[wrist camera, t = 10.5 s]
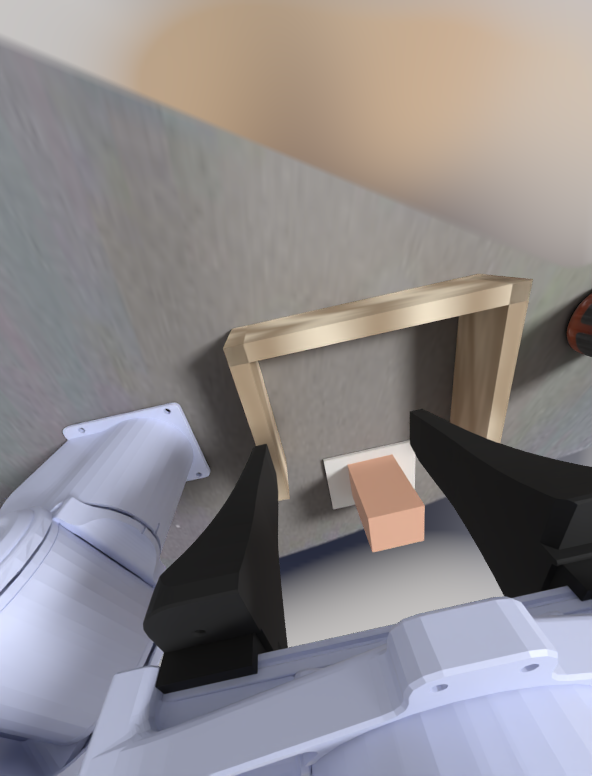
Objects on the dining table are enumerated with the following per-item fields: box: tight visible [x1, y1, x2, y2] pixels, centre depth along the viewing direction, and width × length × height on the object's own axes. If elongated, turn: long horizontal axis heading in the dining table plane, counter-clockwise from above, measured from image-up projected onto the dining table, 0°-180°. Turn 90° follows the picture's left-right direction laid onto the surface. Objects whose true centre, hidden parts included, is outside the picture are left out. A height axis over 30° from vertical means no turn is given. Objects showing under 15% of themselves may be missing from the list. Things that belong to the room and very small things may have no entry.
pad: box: [323, 440, 415, 509], centre depth 27 cm, size 9×7×1 cm
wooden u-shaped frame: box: [223, 274, 533, 501], centre depth 21 cm, size 18×13×4 cm
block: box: [348, 454, 425, 552], centre depth 25 cm, size 4×4×6 cm
